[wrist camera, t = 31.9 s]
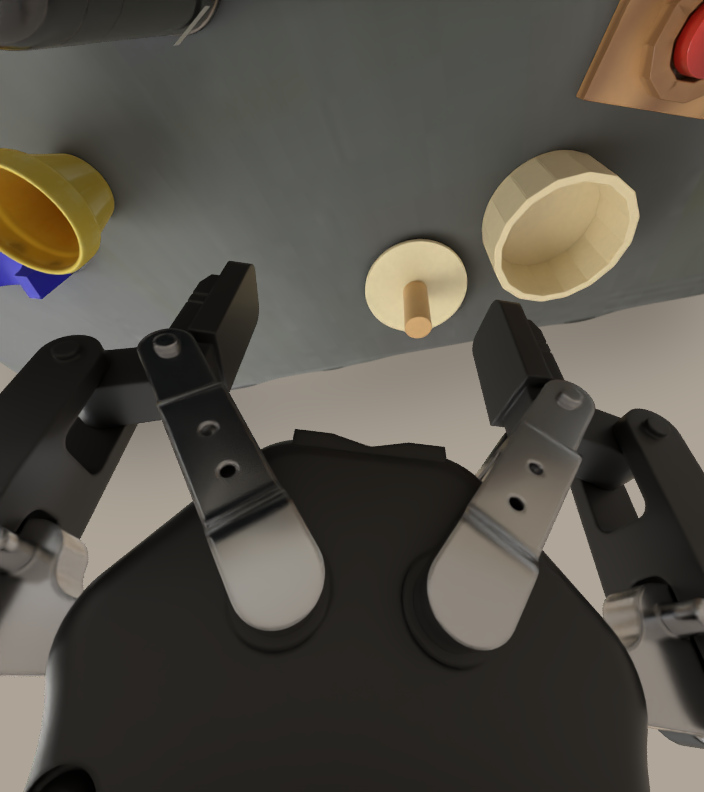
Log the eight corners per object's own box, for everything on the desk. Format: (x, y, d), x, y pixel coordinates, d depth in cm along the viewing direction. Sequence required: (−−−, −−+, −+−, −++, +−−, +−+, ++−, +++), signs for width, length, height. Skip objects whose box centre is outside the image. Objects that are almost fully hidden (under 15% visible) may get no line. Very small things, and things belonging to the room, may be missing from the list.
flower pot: (101, 130, 34) (33, 158, 27) (149, 236, 41) (104, 277, 35) (3, 129, 34) (-88, 156, 28) (68, 234, 42) (9, 274, 35)
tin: (466, 260, 41) (475, 292, 36) (511, 140, 32) (532, 162, 27) (562, 274, 41) (583, 308, 36) (633, 159, 32) (674, 184, 28)
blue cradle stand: (-10, 273, 47) (-47, 298, 43) (-35, 241, 44) (-77, 264, 40) (77, 284, 47) (48, 309, 43) (59, 253, 44) (26, 277, 40)
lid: (359, 319, 48) (355, 361, 42) (373, 228, 39) (370, 266, 33) (447, 331, 49) (454, 374, 43) (482, 245, 39) (497, 285, 33)
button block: (575, 96, 29) (591, 103, 27) (657, -83, 22) (688, -94, 20) (709, 118, 30) (736, 127, 27) (829, -52, 23) (879, -59, 21)
